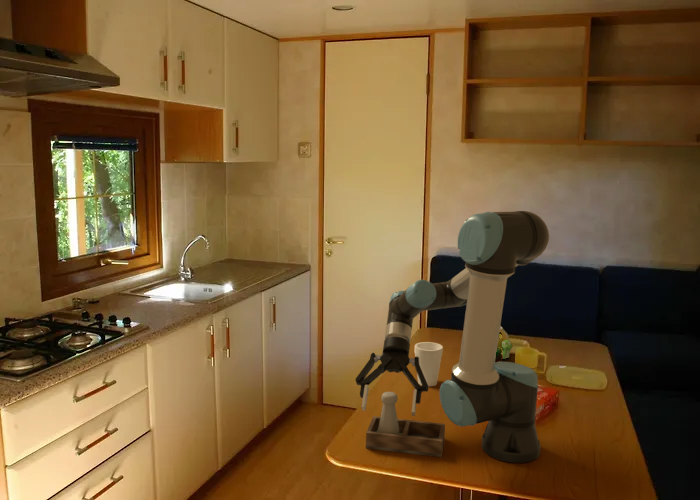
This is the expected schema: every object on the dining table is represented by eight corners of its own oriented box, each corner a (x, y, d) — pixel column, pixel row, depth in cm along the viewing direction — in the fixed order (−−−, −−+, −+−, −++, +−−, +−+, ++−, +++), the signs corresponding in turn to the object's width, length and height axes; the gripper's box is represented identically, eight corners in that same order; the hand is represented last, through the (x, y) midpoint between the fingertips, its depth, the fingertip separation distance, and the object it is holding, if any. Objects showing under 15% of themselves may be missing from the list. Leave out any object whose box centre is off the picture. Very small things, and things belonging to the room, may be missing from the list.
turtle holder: (493, 368, 225) (495, 336, 223) (469, 352, 242) (471, 323, 240) (522, 364, 229) (524, 333, 227) (497, 349, 246) (498, 320, 244)
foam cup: (440, 378, 214) (442, 342, 212) (442, 388, 205) (443, 351, 203) (413, 377, 215) (414, 341, 213) (413, 387, 206) (414, 350, 204)
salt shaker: (397, 445, 164) (398, 398, 162) (376, 442, 165) (377, 396, 163) (400, 435, 169) (401, 390, 167) (379, 433, 171) (380, 388, 168)
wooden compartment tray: (444, 438, 170) (445, 423, 169) (441, 457, 159) (442, 441, 159) (373, 430, 174) (373, 416, 173) (365, 448, 164) (366, 432, 163)
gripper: (440, 350, 179) (434, 421, 167) (356, 343, 184) (345, 412, 172) (440, 338, 173) (434, 411, 161) (353, 331, 178) (341, 401, 166)
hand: (388, 411), depth 166 cm, fingers open, 13 cm apart
